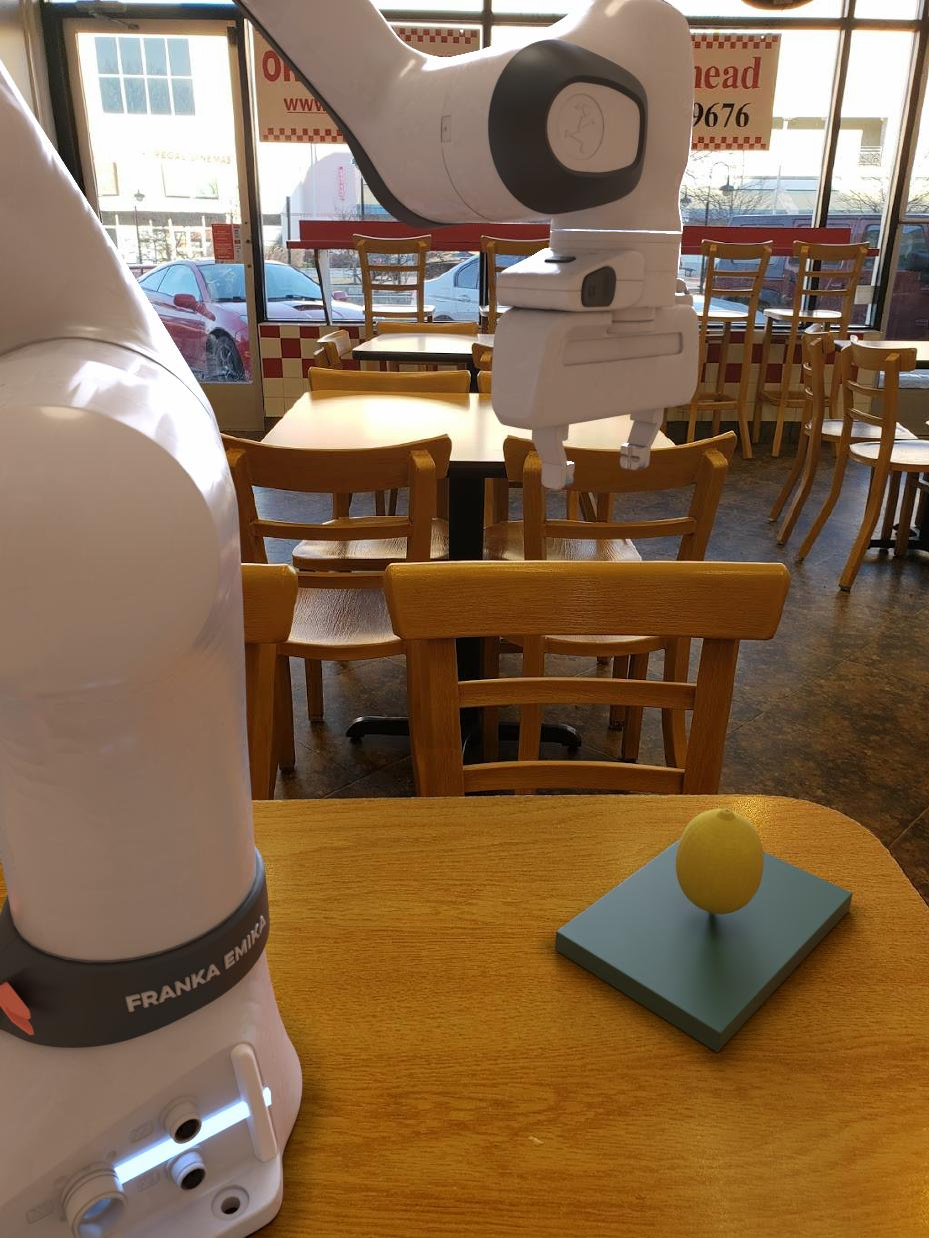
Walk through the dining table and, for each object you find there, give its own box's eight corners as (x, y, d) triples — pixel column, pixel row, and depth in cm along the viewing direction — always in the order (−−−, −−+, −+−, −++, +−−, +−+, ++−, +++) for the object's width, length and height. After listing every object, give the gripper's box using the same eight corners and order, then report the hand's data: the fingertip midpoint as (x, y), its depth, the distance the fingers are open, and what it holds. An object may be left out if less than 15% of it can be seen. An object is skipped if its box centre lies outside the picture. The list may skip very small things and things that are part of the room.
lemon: (752, 948, 60) (770, 842, 57) (664, 928, 61) (677, 824, 59) (756, 896, 65) (773, 796, 62) (675, 879, 66) (687, 780, 63)
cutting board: (717, 1053, 54) (720, 1033, 53) (554, 949, 61) (555, 931, 61) (849, 910, 66) (853, 892, 65) (699, 838, 74) (701, 822, 73)
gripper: (657, 276, 73) (641, 452, 78) (478, 277, 60) (472, 490, 65) (729, 279, 69) (708, 465, 74) (555, 281, 56) (543, 508, 61)
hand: (597, 477), depth 69 cm, fingers open, 8 cm apart
